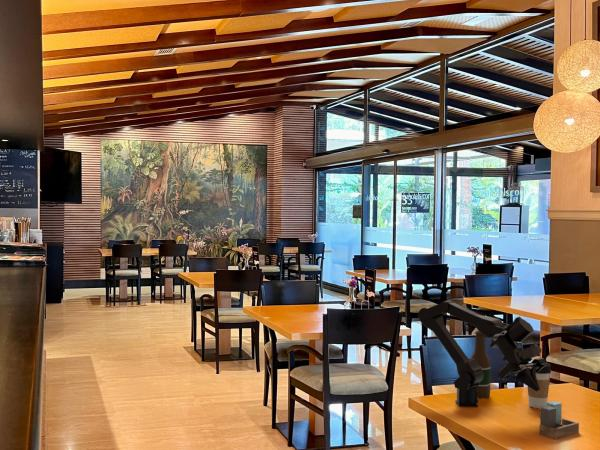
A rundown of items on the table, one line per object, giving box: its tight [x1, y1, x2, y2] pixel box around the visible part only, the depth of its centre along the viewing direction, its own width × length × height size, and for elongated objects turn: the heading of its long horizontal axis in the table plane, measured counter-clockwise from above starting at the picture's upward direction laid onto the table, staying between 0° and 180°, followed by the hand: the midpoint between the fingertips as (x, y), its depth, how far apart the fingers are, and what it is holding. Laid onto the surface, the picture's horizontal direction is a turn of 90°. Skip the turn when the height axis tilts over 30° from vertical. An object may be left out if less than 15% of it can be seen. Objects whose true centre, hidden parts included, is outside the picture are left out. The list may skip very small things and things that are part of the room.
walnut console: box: [539, 418, 580, 440], centre depth 205 cm, size 6×12×3 cm, turn 124°
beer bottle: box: [469, 330, 492, 399], centre depth 247 cm, size 8×8×24 cm
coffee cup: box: [527, 362, 552, 409], centre depth 235 cm, size 8×8×15 cm
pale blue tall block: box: [546, 400, 563, 424], centre depth 210 cm, size 3×4×8 cm
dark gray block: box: [539, 406, 556, 428], centre depth 204 cm, size 3×4×8 cm
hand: (538, 390), depth 215 cm, fingers closed
